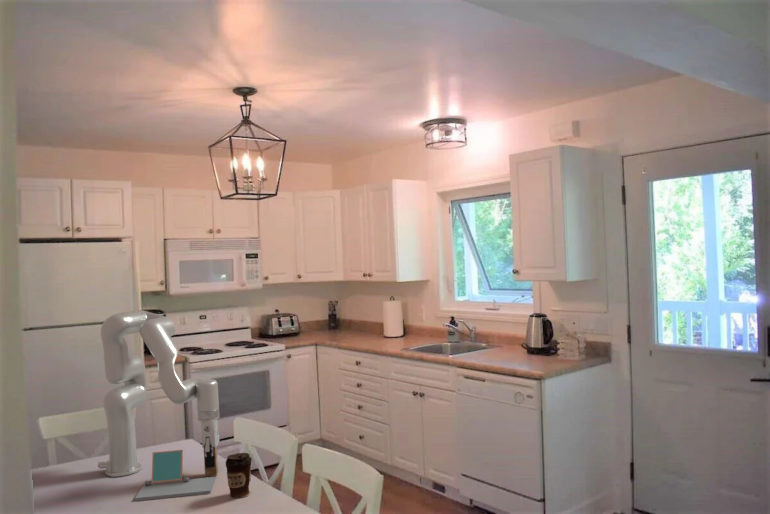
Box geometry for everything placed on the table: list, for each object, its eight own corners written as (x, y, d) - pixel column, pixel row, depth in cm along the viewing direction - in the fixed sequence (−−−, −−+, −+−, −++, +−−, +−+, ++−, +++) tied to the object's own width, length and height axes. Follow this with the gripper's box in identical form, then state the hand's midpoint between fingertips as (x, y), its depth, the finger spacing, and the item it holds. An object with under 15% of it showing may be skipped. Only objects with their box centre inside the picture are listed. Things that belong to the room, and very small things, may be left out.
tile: (152, 452, 216) (153, 452, 217) (151, 482, 212) (152, 482, 213) (182, 449, 217) (182, 449, 218) (181, 479, 214) (182, 479, 215)
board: (135, 501, 202) (134, 493, 202) (144, 486, 215) (144, 479, 214) (210, 493, 205) (210, 486, 205) (215, 479, 218) (215, 472, 218)
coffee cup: (246, 500, 197) (244, 460, 197) (222, 500, 199) (220, 459, 199) (257, 490, 206) (255, 451, 206) (234, 489, 208) (232, 451, 207)
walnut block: (205, 477, 220) (203, 444, 220) (206, 473, 224) (205, 441, 224) (216, 476, 221) (214, 443, 221) (218, 472, 225) (216, 439, 225)
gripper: (216, 419, 215) (218, 471, 215) (222, 407, 231) (224, 456, 231) (193, 421, 214) (196, 474, 214) (201, 409, 230) (204, 458, 230)
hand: (211, 464), depth 223 cm, fingers closed on walnut block, 3 cm apart
